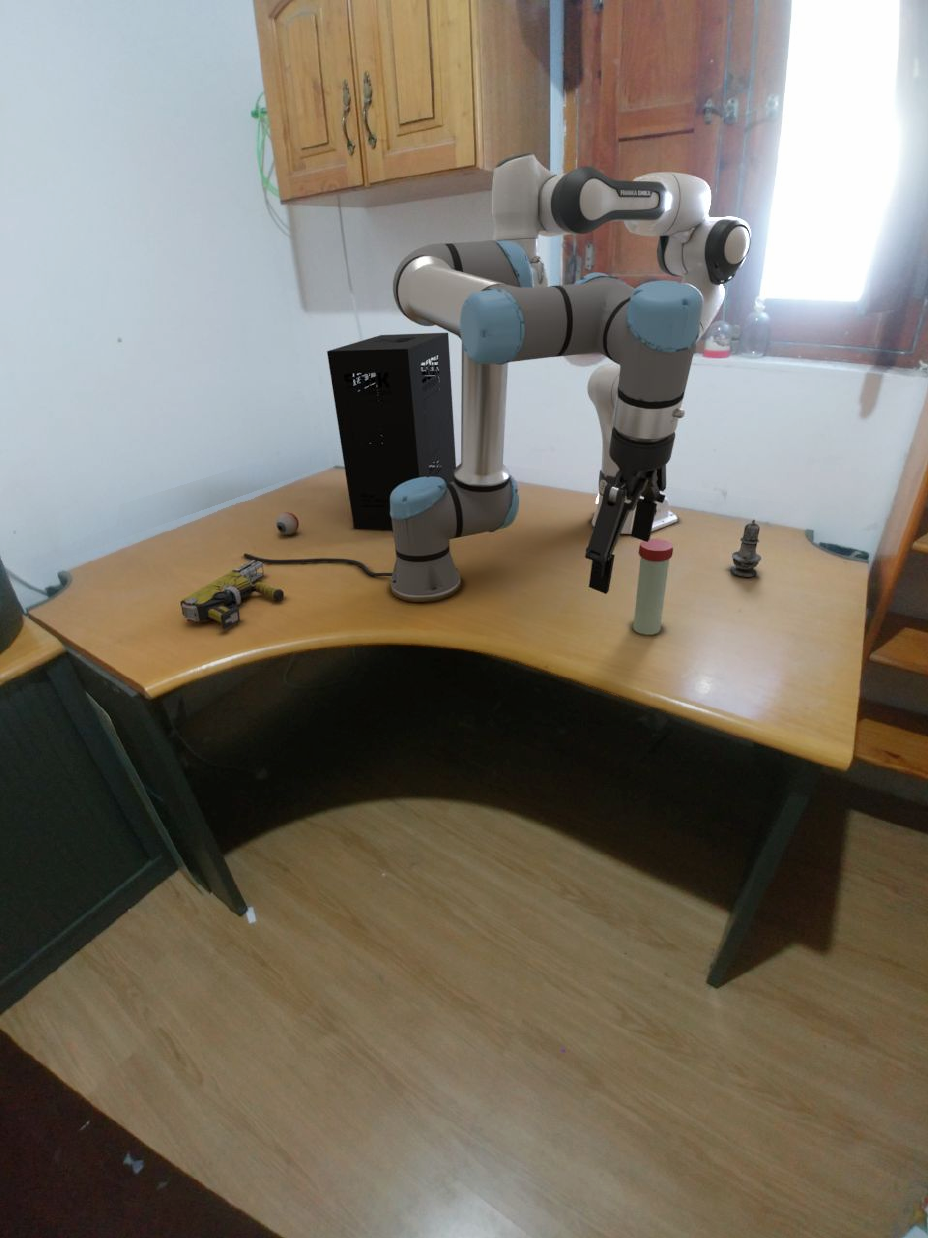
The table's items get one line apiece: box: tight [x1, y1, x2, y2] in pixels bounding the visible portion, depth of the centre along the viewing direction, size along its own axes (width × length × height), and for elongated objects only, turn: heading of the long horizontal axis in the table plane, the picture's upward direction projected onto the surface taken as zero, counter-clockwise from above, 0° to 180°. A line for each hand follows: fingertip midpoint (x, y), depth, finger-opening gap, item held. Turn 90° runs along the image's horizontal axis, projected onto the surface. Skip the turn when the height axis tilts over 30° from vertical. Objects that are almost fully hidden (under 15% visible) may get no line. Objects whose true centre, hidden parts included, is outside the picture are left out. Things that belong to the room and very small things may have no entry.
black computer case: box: [326, 332, 457, 531], centre depth 169 cm, size 38×20×45 cm, turn 167°
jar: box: [632, 557, 670, 636], centre depth 110 cm, size 5×5×17 cm
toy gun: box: [179, 559, 285, 630], centre depth 130 cm, size 5×24×15 cm
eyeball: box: [275, 511, 300, 536], centre depth 163 cm, size 6×6×6 cm
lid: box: [638, 538, 674, 561], centre depth 106 cm, size 6×6×2 cm
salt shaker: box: [730, 519, 762, 578], centre depth 129 cm, size 6×6×12 cm
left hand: (620, 562), depth 88 cm, fingers open, 13 cm apart
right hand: (516, 335), depth 125 cm, fingers open, 8 cm apart
